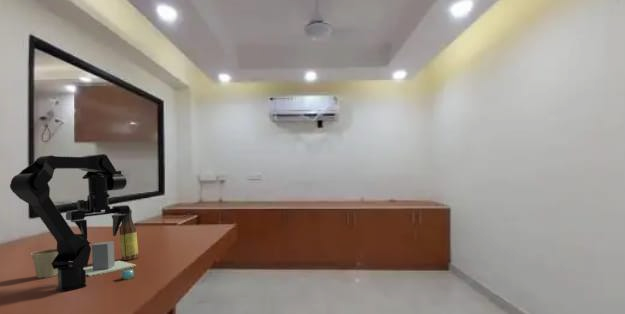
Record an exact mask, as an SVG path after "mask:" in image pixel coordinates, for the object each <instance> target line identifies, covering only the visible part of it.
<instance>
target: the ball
mask: <svg viewBox="0 0 625 314" xmlns="http://www.w3.org/2000/svg"><path fill="white" fill-rule="evenodd" d="M120 273H121V274H120V275H121V280H122V279H127V280H131V278H132V279H133V277H134V269H130V268H128V269H122V270H120Z"/></svg>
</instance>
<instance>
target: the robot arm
mask: <svg viewBox="0 0 625 314" xmlns="http://www.w3.org/2000/svg"><path fill="white" fill-rule="evenodd" d="M56 169H57V170H59V169H60V170H63V169H64V170H69V169H70V170H74V169H77V170H81V171H84V172H86V173H85V174H84V175H83V176H81V177H82V179H83V180H87V183H88V195H87V199H86V200H85V199H78V200H77V201H76V208H77V209H75V210H67V212H65V217H63V215H62V213H61V212H60V211H59V209H58V208H57V207H58V206H56V204H55V203H54V201H53V200H52V199H51V197H50V193H51V187H50V185H49V182H50V181H51V180H52V179H53V178H54V172H55V170H56ZM127 181H128V180H127V178H126V176H124V174H122V171H121V170H117V169H116V168H115V166H114V165H113V164H112V162H111V160H110V159H109V157H108V155H107V154H105V153H103V154H99V153H98V154H88V155H84V156H55V155H42V156H39V157H38V158H36V159H35V160H34V162H32V163H31V164H29V165H28V166H27V167H26V168H24V169H22V170H21V171H20V172H19V173H18V174H15V175H14V176H13V178H12V179H11V180H10V184H9V188H10V191H12V193H13V194H14V195H16V196H17V198H18V199H20V200H22V201H24V202H25V203H27V204H28V205H30V206H31V207H32V209H33V210H34V211H35V212H36V214H37V216H38V217H39V218H40V220H41V221H42V222H43V224H44V225H45V227H46V228H47V230H48V231H49V232H50V233H51V235H52V237H53V238H54V240H55V241H56V249H57V251H58V254H57V256H56V257H55V259H54V260H53V262H52V266H53V269H58V274H57V284H58V285H57V286H55V287H56V289H57V290H59V291H61V292H68V291H72V290H76V289H80V288H83V287H87V284H86V282H87V280H86V279H87V277H86V276H87V275H86V273H85V270H84V268H86V267H88V265H89V260H90V256H91V253H92V246H91V242H90V241H89V240H88V224H87V219H85V218H86V217H96V216H103V215H111V218H112V236H113V237H116V236H117V234H118V231H119V230H120V229H119V228H120V226H121V223H122V220H123V218H124V217H125V216H127V215H125V214H128V213H130V209H131V207H130V206H129V205H125V204H124V205H122V204H121V205H113V206H110V205H109V198H110V193H109V192H110V191H120V190H123V189H124V188H125V187H127V184H128V183H127ZM111 207H112V208H111ZM67 221H70V222H71V223H74V224H75V225H76V226H77V227H78V229H79V231H80V233H75V232H74V231H73V230H72V228H71V227H70V225H69V224H68V222H67Z"/></svg>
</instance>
